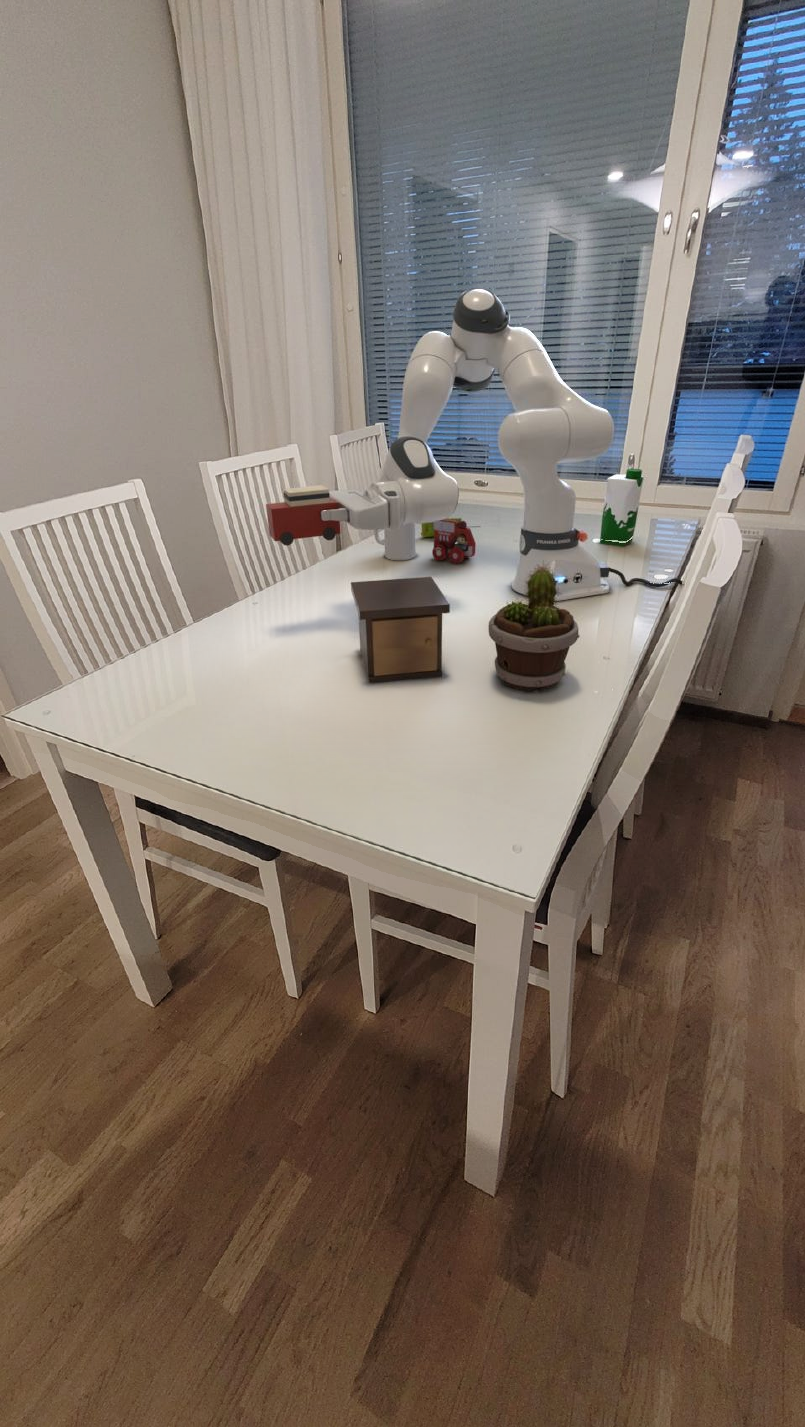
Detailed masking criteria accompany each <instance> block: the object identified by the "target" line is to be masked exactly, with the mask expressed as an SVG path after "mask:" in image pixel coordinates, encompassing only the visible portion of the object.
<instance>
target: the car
mask: <svg viewBox="0 0 805 1427" xmlns="http://www.w3.org/2000/svg"><path fill="white" fill-rule="evenodd" d="M329 492H330V490H329V488H328V487H325V485H322V484H319V485H310V486H300V487H299V486H298V487H290V488H289V487H288V488H283V498H284V501H283V502H282V501H281V502H272V503H271V502H270V503H265V509H266V516H267V526H268V532H269V533H268V534H269V537H270V538H271V539H272V540H273V541H274V542H280V543H281V544H282V545H283V546H287V547H288V546H291V545H292V544H293V543H294V540H299V539H307V538H315V537H322V538H323V539H325V541H332V540H334V539H335V537H336V535H340V534H341V521H334V520H327V521H323V520H322V519H321V518H320V510H325V509H329V510H333V509H339V503H338V502H337V501H336V500H334V499H333V498H330V494H329Z"/></svg>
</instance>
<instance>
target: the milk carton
mask: <svg viewBox="0 0 805 1427" xmlns="http://www.w3.org/2000/svg"><path fill="white" fill-rule="evenodd" d="M642 474H643V470H642V469H640V468H627V469H626V472H625V474H618V473H616V474H614V475H611V476H610V477H607V478H606V488H605V495H604V503H603V510H602V518H601V526H600V538H599V544H605V545H611V546H618V547H625V546H627V545H629V544H630V543H631V542H632V541H633V539H634V535H635V530H636V525H637V518H638V512H639V507H640V501H641V493H642V490H643V484H644V479H645V476H643V475H642ZM632 536H633V538H632V539H631V540H629V539H630V538H631V537H632ZM601 539H603V540H601ZM605 540H618V541H627V540H629V541H628V542H626V543H619V542H612V541H605Z"/></svg>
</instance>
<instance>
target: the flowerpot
mask: <svg viewBox="0 0 805 1427" xmlns="http://www.w3.org/2000/svg"><path fill="white" fill-rule="evenodd" d="M543 563H544V561H543ZM549 564H550V563H549ZM537 565H538V564H537ZM544 565H545V564H544ZM547 565H548V564H547ZM547 565H545V567H544V566H542V568H541V569H540V570H539V569H536V568H535V567H534V570H535V569H536V571H535V573H534V574H533V573H532V575H531V571H530V576H528V577H531V578H529V580H527V581H526V582H527V583H526V582H524V583H526V584H528V586H526V584H525V586H526V587H527V588H526V589H528V592H527V593H526V594H527V595H524V594H523V595H524V596H523V597H525V603H522V600H523V599H521V600H520V601H518V597H516V599H514V601H513V600H511V603H509V602H508V601H506V605H505V606H503V607H501V608H500V609H499V610H498V611H497V612H496V614H494V615H493V616H492V617H491V618H490V619H489V621H488V636H489V638H490V639H491V640H492V642H494V646H495V651H496V657H495V659H494V668H495V672H496V675H497V676H498V678H500V679H501V680H500V681H501V682H502V683H503V684H504V685H505V686H507V687H510V688H512V689H514V690H520V689H521V690H522V691H524V692H525V691H526V692H530V691H533V690H535V689H538V690H540V691H545V690H547V689H549V688H553V687H554V686H556V684H557V683H558V682H559V681H561V679H562V678H563V677H564V676H565V675H566V669H567V665H566V662H565V661H566V659H567V656H568V654H569V650H570V647H571V646H573V645H574V644H575V643H576V642H577V641H578V639H579V638H580V634H579V625H578V623H577V621H575V618H574V616H573V614H571V612H570V611H569V610H567V609H564V608H560V607H558V606H559V604H558V601H557V600H555V599H557V598H556V597H555V595H556V596H557V593H560V592H558V591H557V590H556V587H557V586H556V583H558V582H561V581H558V580H559V578H558V580H557V579H556V578H555V577H556V576H557V575H554V574H553V571H552V574H551V573H550V572H551V570H550V569H549V570H550V571H547V570H546V569H547V567H546V566H547ZM539 566H540V565H539ZM539 566H537V567H539ZM540 567H541V566H540ZM540 567H539V568H540ZM550 568H551V567H550ZM537 570H538V571H537ZM552 570H554V569H552ZM533 572H534V571H533ZM555 574H556V573H555ZM528 575H529V574H528ZM554 576H555V577H554ZM555 579H556V580H555ZM525 580H526V579H525ZM555 586H556V587H555ZM560 586H561V585H560ZM557 589H558V588H557ZM558 590H559V589H558ZM524 591H527V590H525V589H524ZM556 591H557V592H556ZM561 594H562V593H561ZM558 596H559V595H558ZM558 596H557V597H558ZM554 597H555V598H554ZM554 600H555V601H554ZM559 600H560V599H559ZM560 601H561V600H560ZM557 605H558V606H557Z"/></svg>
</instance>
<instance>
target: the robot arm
mask: <svg viewBox="0 0 805 1427" xmlns="http://www.w3.org/2000/svg"><path fill="white" fill-rule="evenodd" d="M452 316H453V317H452V319H453V320H452V327H451V334H448V335H447V334H446V333H445V332H442V331H437V330H435V331H429V332H426V333H425V334H423V335H422V337H420V338H419V340H418V342H416V345H415V346H414V349H413V351H412V353H411V355H410V357H409V360H408V363H407V366H406V368H405V373H404V378H403V384H402V393H401V406H400V415H399V416H400V417H399V427H398V435H397V439H394V440H393V441H392V442H391V444H390V446H389V448H388V451H387V454H386V458H385V460H384V463H383V466H382V468H381V469H382V470H381V473H380V476H379V478H378V479H379V480H378V481H375V482H372V483H371V484H370V485H369V489H366V490H364V491H362V490H360V489H341V490H340V489H339V490H329V494H330V498H333V499H334V500H336V501H337V502H338V503H339V509H333V510H329V509H325V510H320V518H321V519H322V520H323V521H327V520H334V521H340V522H345V523H346V524H348V525H349V526H350V527H352V528H353V529H356V530H359V531H361V530H362V531H371V530H373V531H374V530H376V529H378V530H384V529H388V530H390V531H396V530H399V529H400V526H403V525H405V524H407V523H415V525H416V524H417V525H422V524H423V523H430V522H435V521H440V520H443V519H447V518H450V517H452V516H453V514H454V513H455V511H456V509H457V506H458V505H459V504H458V503H459V497H460V494H459V493H460V491H459V486H458V483H457V480H456V479H455V478H454V477H452V476H450V475H448V474H447V473H446V472H444V471H443V469H442V468H441V466H440V465H439V464H438V462H437V461H436V460H435V458H434V454H433V451H432V449H431V447H430V446H429V445H428V444H427V443H428V440H429V438H430V436H431V434H432V432H433V431H434V428H435V427H436V424H437V423H438V421H439V419H440V418H441V415H442V414H443V412H444V411H445V408H446V406H447V404H448V401H449V400H450V397H451V395H452V392H453V388H454V387H455V388H456V389H458V390H460V391H463V392H465V393H477V392H481V391H483V390H485V389H487V388H488V387H489V386H490V384H491V382H492V380H493V378H494V375H495V371H496V372H497V374H499V377H500V381H501V382H502V385H503V387H504V389H505V392H506V395H507V397H508V398H509V401H510V404H511V405H512V407H513V410H514V411H515V412H512V413H510V414H508V415H506V417H505V418H504V419H503V421H502V422H501V425H500V426H499V429H498V433H497V446H498V450H499V452H500V455H501V456H502V458H503V459H504V460H505V461H506V462H507V463H508V464H510V466H512V468H513V469H514V470H515V471H516V473H517V474H518V477H519V479H520V482H521V485H522V488H523V524H522V526H521V527H520V535H519V544H518V545H519V546H518V548H519V558H518V564H517V566H516V567H517V568H516V572H515V575H514V578H513V581H512V584H511V588H512V590H513V591H515V592H516V593H519V594H522V595H526V596H528V595H527V594H526V593H527V592H528V589H526V588H527V587H526V586H528V584H526V583H527V582H526V581H527V580H529V578H531V577H528V576H530V571H531V575H532V573H533V574H534V573H535V571H536V569H539V570H540V569H541V568H542V566H544V567H545V565H547V564H548V565H547V566H546V567H547V569H546V570H547V571H550V570H551V572H550V573H551V574H552V571H553V574H554V575H557V576H556V577H555V576H554V577H555V578H556V579H557V580H558V578H559V580H558V581H561V582H558V583H556V586H557V587H556V586H555V587H556V590H557V591H558V592H560V593H557V596H558V595H559V596H558V597H557V596H556V595H555V597H556V598H557V599H555V600H557V601H555V600H554V601H555V602H560V601H565V600H571V599H578V598H585V597H590V596H597V595H603V594H608V593H609V592H610V585H609V583H608V582H607V581H606V580H605V579H603V578H609V575H610V573H613V574H615V575H617V576H618V577H619V579H620V580H621V583H622V584H623V585H625V586H630V585H632V584H633V583H641V584H645V585H646V586H650V587H653V588H662V587H666V586H669V585H671V584H672V583H671V582H673V583H678V585H682V582H683V580H681V578H678V577H674V578H671V579H668V580H667V581H664V582H652V583H650V582H651V581H649V580H647V579H645V578H641V577H634V578H631V579H630V580H626V577H625V575H624V573H622V572H621V571H620V570H618V569H615V568H612V567H610V566H608V564H607V563H606V562H605V561H598V560H597V559H596V558H595V557H594V556H593V555H592V554H590V552H588V551H587V550H586V549H585V548H584V547H582V546H581V545H580V544H579V542H582V543H584V542H587V540H588V538H589V536H588V534H587V532H584V530H583V531H582V530H581V531H580V530H579V529H577V528H575V527H574V521H575V510H576V503H577V502H576V501H577V495H576V493H575V490H574V489H573V487H572V486H571V485H570V484H568V483H567V482H566V481H564V480H562V479H560V478H559V475H558V464H564V463H565V464H567V463H581V462H585V461H588V460H592V459H595V458H598V457H602V456H603V455H605V454H606V453H607V452H608V450H609V449H610V448H611V445H612V444H613V441H614V437H615V423H614V420H613V417H612V415H611V414H610V412H609V411H608V410H607V409H605V408H602V407H599V406H597V405H594V404H592V403H590V401H587V400H586V399H584V398H583V397H581V396H580V395H579V394H578V393H577V392H575V391H574V390H573V389H572V388H570V387H569V386H568V385H567V383H565V381H563V379H562V378H561V377H560V375H559V373H558V372H557V370H556V368H555V366H554V365H553V362H552V361H551V359H550V357H549V355H548V353H547V350H546V349H545V347H544V346H543V345H542V343H541V342H540V340H538V338H537V337H536V336H535V335H534V334H533V332H532V331H530V330H529V329H527V328H526V327H520V326H519V327H512V326H510V325H509V324H510V321H511V314H510V312H509V311H508V310H507V309H506V308H504V305H503V303H502V301H501V300H500V298H498V297H497V295H496V294H495V293H494V292H492V291H491V290H489V289H486V288H484V287H474V288H470V289H468V290H465V291H464V292H462V293H461V294H460V295H459V296H458V298H457V300H456V302H455V306H454V309H453V313H452ZM543 561H544V563H543ZM549 563H550V564H549ZM537 564H538V565H537ZM544 564H545V565H544ZM539 565H540V566H541V567H540V566H539ZM537 566H539V567H540V568H539V567H537ZM534 567H535V568H536V569H535V570H534ZM550 567H551V568H550ZM549 569H550V570H549ZM552 569H554V570H552ZM533 571H534V572H533ZM537 571H538V570H537ZM555 573H556V574H555ZM528 574H529V575H528ZM525 579H526V580H525ZM556 579H555V580H556ZM524 582H526V583H524ZM669 582H670V584H664V583H669ZM653 583H654V584H653ZM659 583H660V584H659ZM661 583H662V584H661ZM525 584H526V586H525ZM560 585H561V586H560ZM557 588H558V589H559V590H558V589H557ZM524 589H525V590H527V591H524ZM557 591H556V592H557ZM561 593H562V594H561ZM555 597H554V598H555ZM559 599H560V600H559Z"/></svg>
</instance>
